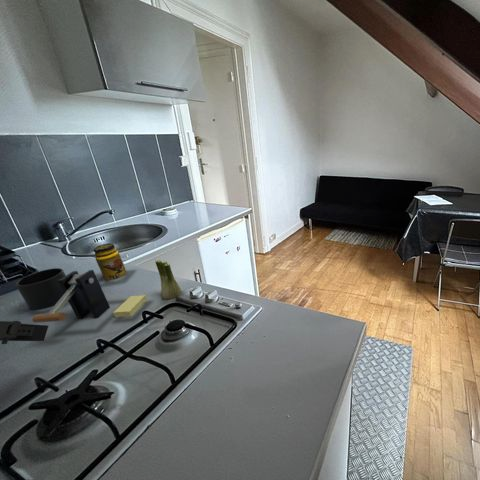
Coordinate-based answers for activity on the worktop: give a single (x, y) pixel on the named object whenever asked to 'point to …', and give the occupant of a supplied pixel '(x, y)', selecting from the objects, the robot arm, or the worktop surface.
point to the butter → (130, 306)
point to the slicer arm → (59, 304)
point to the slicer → (86, 295)
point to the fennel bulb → (167, 281)
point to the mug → (41, 288)
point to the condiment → (109, 262)
